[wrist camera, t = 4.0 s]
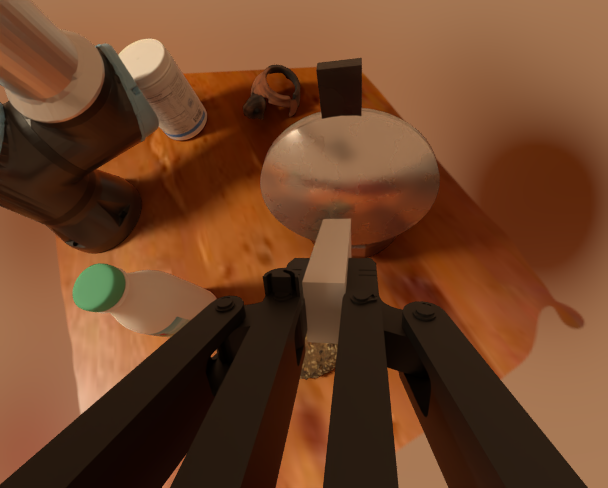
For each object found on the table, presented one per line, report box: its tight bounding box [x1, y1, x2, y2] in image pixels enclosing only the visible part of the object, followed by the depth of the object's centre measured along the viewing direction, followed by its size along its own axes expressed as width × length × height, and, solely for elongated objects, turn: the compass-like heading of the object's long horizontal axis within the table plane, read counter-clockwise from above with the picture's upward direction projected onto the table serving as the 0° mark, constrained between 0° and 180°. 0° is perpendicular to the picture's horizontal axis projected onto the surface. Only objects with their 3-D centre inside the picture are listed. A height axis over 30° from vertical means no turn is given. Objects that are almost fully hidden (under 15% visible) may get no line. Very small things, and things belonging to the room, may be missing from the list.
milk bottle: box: [73, 264, 217, 337], centre depth 37 cm, size 8×8×20 cm
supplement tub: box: [118, 39, 207, 140], centre depth 55 cm, size 10×10×15 cm
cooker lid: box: [260, 58, 439, 245], centre depth 28 cm, size 20×17×1 cm
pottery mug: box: [243, 65, 300, 120], centre depth 56 cm, size 12×10×8 cm
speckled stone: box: [300, 334, 338, 380], centre depth 41 cm, size 13×12×5 cm
